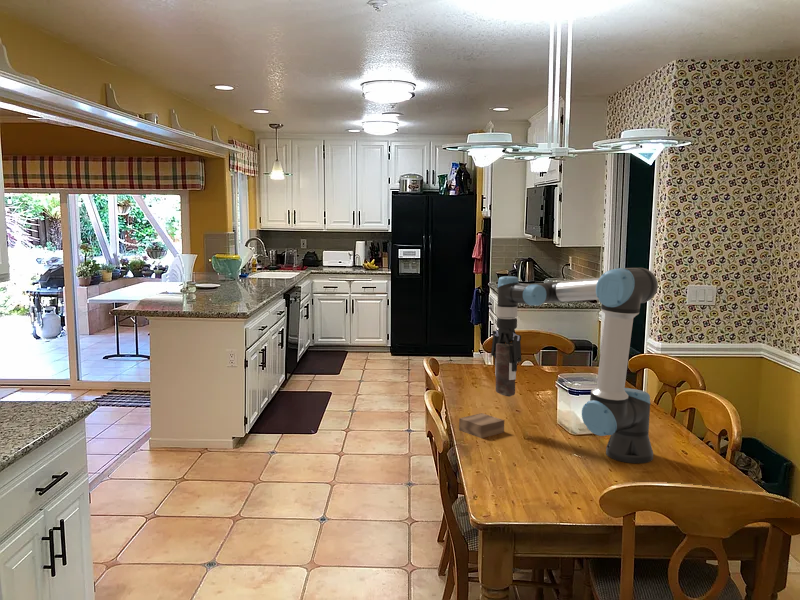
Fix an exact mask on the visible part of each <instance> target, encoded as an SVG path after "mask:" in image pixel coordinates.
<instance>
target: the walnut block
mask: <svg viewBox="0 0 800 600" xmlns="http://www.w3.org/2000/svg"><path fill="white" fill-rule="evenodd" d="M458 421H459V422H458V424H459V425H458V431H460V432H463V433H465V434H468V435H471V436H474V437H476V438H479V439H484V438H487V437H492V436H495V435H499V434H503V433H505V419H502V418H498V417H496V416H495V417H494V416H492V415H489V414H487V413H486V414H485V413H476V414H473V415H469V416H464V417H459V418H458Z"/></svg>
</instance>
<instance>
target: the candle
mask: <svg viewBox="0 0 800 600" xmlns="http://www.w3.org/2000/svg"><path fill="white" fill-rule="evenodd" d="M510 345H511V346H513V345H512V344H510ZM510 345H509V344H506V343H505V344H501V343H497V344H496V376H495V392H496V393H497V394H499V395H501V396H504V397H512V396H514V395H516V379H515V380H509V363H510V362H511V359H510V354H509V352H510Z"/></svg>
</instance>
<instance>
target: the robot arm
mask: <svg viewBox="0 0 800 600" xmlns="http://www.w3.org/2000/svg"><path fill="white" fill-rule="evenodd" d="M658 288H659V282H658V280H657V277H656V276H655V274H654V273H653V272H652V271H651V270H650V269H648V268H644V267H622V268H621V267H617V268H616V267H615V268H614V269H609V270H607V271H605V272H604V273H602V274H601V275H600V277H594V278H583V279H573V280H560V281H551V282H549V281H548V282H540V283H539V282H538V283H537V282H536V283H521V282H519V278H518V276H510V275H509V276H507V275H505V276H499V278H498V282H497V306H496V316H497V318H496V327H497V328H498V329H497V330H492V344H491V353H490V355H491V356H492V357H493V358H494V366H495V369H494V370H495V372H494V374H495V375H494V376H495V377H496V344H497V343H501V344H505V343H506V344H509V345H510V344H512V345H513V346H511V345H510V352H509V354H510V359H511V362H510V363H509V380H515V381H516V379H517V371H518V363H520V362H522V346H521V344H522V343H521V341H522V335H521V334H516V329H517V328H518V319H517V317H518V306H519V305H518V304H521V305H529V306H532V307H533V306H537V307H538V306H542V304H548V303H550V304H551V303H561V302H564V303H565V302H575V301H577V302H578V301H580V302H581V301H594V300H596V301H597V300H598V301H599V302H600V304H601V305H600V310H601V311H602V312H603V314H604V321H603V328H602V336H601V337H602V338H601V346H600V356H599V364H598V370H597V371H598V372H597V382H596V386H595V387H593V388H592V389H591V390H590V399H589V400H588V401H586V403H585V404H583V406H582V408H581V419H582V422H583V424H584V425H585V426H586V428H587V430H588V431H590V432H591V433H592V434H594V435H595V436H599V437H600V436H601V437H603V436H609V439H608V442H607V444H606V448H605V454H606V456H607V457H609V458H611V459H613V460H615V461H617V462H622V463H626V464H627V463H629V464H646V463H650V462H652V461H653V459H654V451H653V449H652V448H653V447H652V444H651V441H650V436H649V433H650V432H649V431H650V412H651V396H650V393H648V392H647V391H644V390H641V389H636V388H629V387H625V386H626V379H627V372H628V371H627V370H628V364H629V355H630V349H631V347H630V346H631V340H632V339H631V338H632V331H633V323H634V318H636V316H638V315H639V314H640V311H641V310H640V309H641V304H645V303H647V302H649V301H650V300H652V299H653V298H654V297H655V295H656V294H657V292H658Z"/></svg>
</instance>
